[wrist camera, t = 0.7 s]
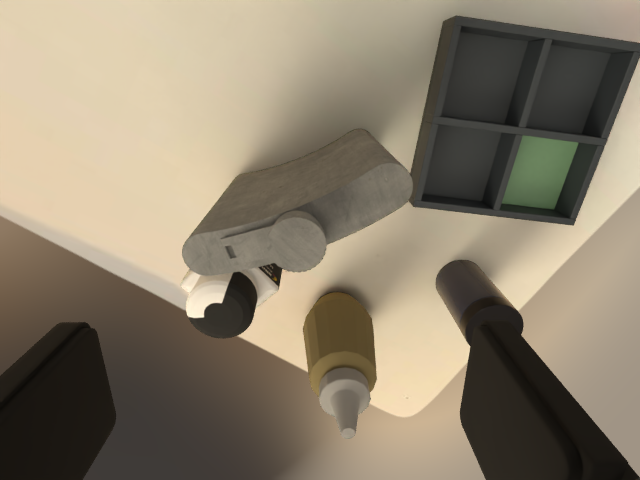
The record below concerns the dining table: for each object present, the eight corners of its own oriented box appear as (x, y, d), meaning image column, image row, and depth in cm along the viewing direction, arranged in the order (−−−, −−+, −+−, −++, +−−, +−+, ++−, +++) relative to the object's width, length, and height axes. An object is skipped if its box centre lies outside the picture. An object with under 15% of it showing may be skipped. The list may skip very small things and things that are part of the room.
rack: (443, 21, 37) (456, 15, 33) (616, 46, 38) (645, 43, 34) (405, 196, 43) (413, 206, 40) (554, 214, 44) (573, 225, 41)
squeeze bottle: (377, 327, 50) (410, 453, 33) (317, 346, 51) (319, 478, 34) (356, 273, 47) (380, 382, 30) (293, 295, 48) (282, 412, 31)
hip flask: (368, 124, 40) (415, 163, 22) (380, 161, 42) (433, 227, 23) (227, 179, 42) (159, 258, 24) (243, 213, 44) (191, 312, 25)
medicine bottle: (284, 259, 46) (275, 317, 35) (242, 295, 47) (220, 361, 36) (240, 216, 44) (215, 263, 33) (197, 255, 45) (159, 312, 34)
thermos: (441, 257, 46) (474, 302, 37) (488, 262, 46) (531, 308, 37) (430, 298, 48) (458, 350, 39) (475, 303, 48) (513, 356, 39)
